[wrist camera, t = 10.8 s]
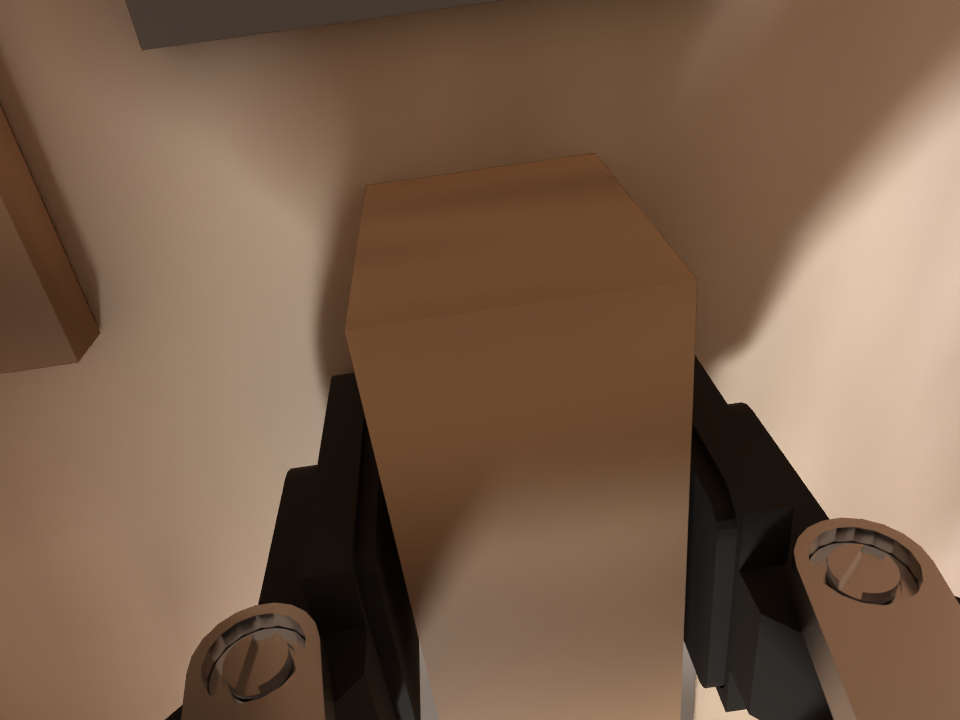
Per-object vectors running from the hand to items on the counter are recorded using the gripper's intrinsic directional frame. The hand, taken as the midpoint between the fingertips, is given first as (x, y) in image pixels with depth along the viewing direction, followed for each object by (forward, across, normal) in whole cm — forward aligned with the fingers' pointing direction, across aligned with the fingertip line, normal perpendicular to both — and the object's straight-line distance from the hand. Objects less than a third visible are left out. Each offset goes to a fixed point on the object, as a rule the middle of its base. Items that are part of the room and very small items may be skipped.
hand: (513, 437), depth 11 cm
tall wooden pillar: (+1, 0, +3) cm, 3 cm away
